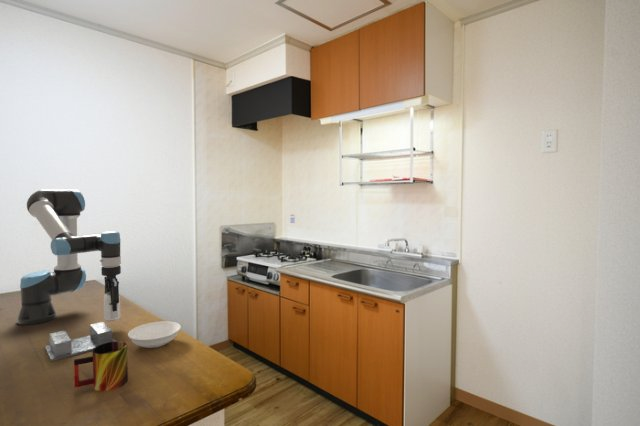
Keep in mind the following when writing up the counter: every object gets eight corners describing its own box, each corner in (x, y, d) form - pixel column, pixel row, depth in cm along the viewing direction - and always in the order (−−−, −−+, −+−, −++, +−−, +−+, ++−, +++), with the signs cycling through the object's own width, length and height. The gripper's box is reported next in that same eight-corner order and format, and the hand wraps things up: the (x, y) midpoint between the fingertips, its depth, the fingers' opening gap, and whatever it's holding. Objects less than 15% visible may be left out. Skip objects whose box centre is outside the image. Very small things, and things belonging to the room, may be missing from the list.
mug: (73, 390, 111) (72, 353, 111) (119, 372, 123) (118, 339, 122) (86, 401, 106) (84, 362, 105) (133, 381, 117) (132, 346, 116)
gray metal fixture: (45, 348, 142) (44, 334, 142) (106, 333, 158) (106, 320, 157) (51, 361, 131) (50, 346, 131) (117, 343, 146) (116, 330, 146)
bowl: (191, 338, 151) (191, 324, 151) (156, 359, 133) (155, 342, 132) (154, 332, 158) (154, 318, 158) (116, 351, 139) (115, 335, 139)
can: (112, 322, 157) (112, 295, 157) (100, 320, 159) (99, 294, 158) (123, 317, 164) (123, 291, 163) (111, 315, 165) (111, 290, 164)
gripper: (96, 263, 164) (97, 312, 165) (107, 270, 150) (108, 323, 152) (114, 261, 169) (115, 308, 171) (126, 268, 155) (127, 319, 157)
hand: (112, 315), depth 161 cm, fingers closed on can, 6 cm apart
